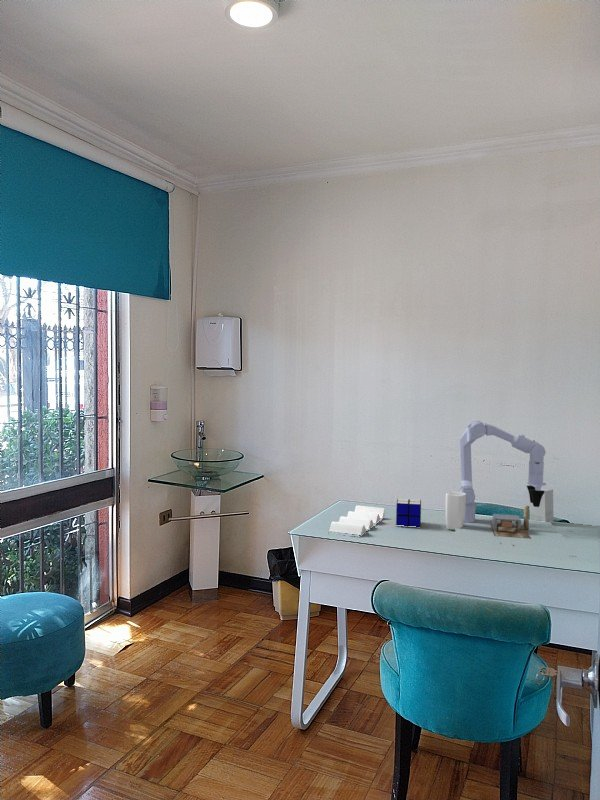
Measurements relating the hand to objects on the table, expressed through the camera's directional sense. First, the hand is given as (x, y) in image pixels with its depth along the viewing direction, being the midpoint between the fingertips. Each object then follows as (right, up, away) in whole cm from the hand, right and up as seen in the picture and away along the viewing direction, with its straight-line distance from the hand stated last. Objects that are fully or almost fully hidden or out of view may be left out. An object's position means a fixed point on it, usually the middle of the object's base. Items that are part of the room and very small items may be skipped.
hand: (534, 504), depth 260 cm
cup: (-34, -10, -3) cm, 36 cm away
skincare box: (+7, -10, +12) cm, 17 cm away
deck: (-14, -10, -10) cm, 20 cm away
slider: (-12, -9, -9) cm, 17 cm away
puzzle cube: (-52, -9, +4) cm, 53 cm away
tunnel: (-15, -9, -8) cm, 19 cm away
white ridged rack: (-74, -10, +1) cm, 74 cm away
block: (-15, -9, -8) cm, 19 cm away
